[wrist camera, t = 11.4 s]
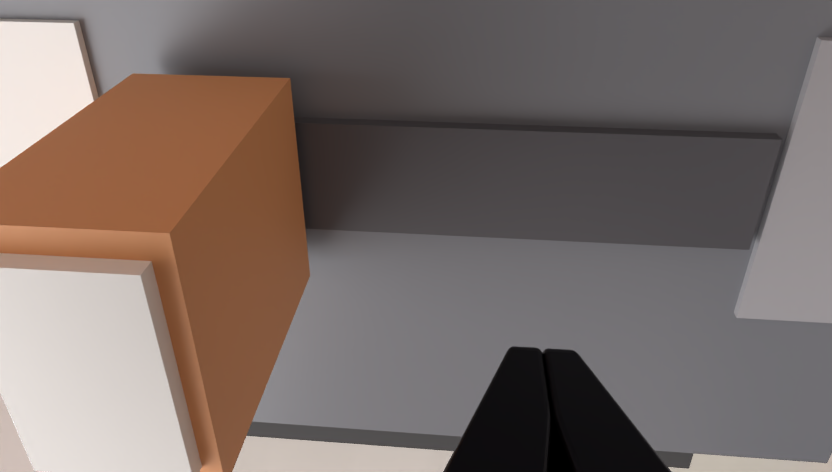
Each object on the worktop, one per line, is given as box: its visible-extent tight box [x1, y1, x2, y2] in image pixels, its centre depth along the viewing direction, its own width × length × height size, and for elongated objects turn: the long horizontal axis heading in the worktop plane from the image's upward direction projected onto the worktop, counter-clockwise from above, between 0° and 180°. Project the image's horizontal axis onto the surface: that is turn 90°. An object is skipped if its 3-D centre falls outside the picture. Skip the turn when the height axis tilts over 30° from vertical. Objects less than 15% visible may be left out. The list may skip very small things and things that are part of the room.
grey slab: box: [246, 422, 693, 468], centre depth 16 cm, size 16×20×2 cm
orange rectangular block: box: [0, 73, 310, 472], centre depth 11 cm, size 3×4×6 cm
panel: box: [0, 0, 832, 463], centre depth 15 cm, size 20×15×3 cm
